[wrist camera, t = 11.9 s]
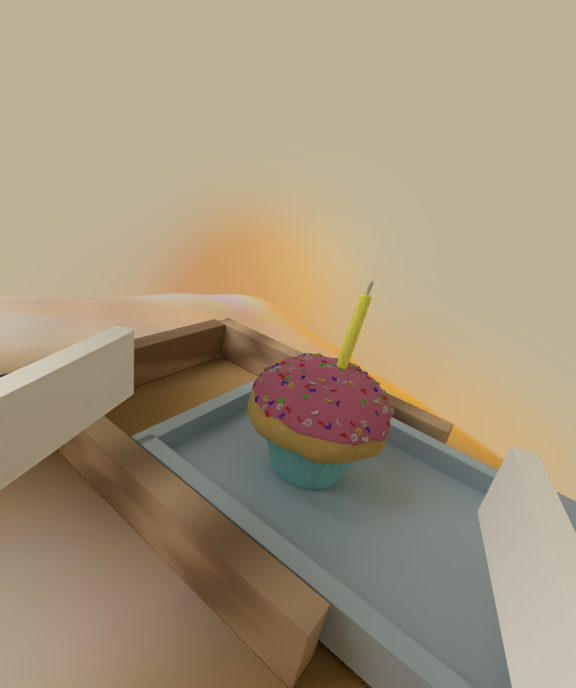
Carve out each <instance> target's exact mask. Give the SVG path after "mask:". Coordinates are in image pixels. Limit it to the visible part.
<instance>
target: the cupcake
mask: <svg viewBox="0 0 576 688" xmlns="http://www.w3.org/2000/svg"><path fill="white" fill-rule="evenodd" d="M372 285H373V281H370V283H369V285H368V288H367V290H366V292H365V294H360V297H359V300H358V302H357V306H356V308H355V311H354V314H353V317H352V320H351V323H350V326H349V329H348V332H347V335H346V338H345V341H344V344H343V347H342V350H341V353H340V355H339V358H334V359H333V358H329V357H324V356H321V354H317V353H316V354H307V353H305V354H306V355H305V354H303V355H301V354H298V356H296V357H291V358H288V359H284V360H282V361H280V362H277V363H276V364H274V365H273V366H271V367H266V368H267V369H266V368H265V369H264V372H263V373H260V374H259V377H258V378H257V379H256V380H255V381H254V383H253V386H252V391H251V393H250V397H249V401H248V405H247V411H248V415H249V416H250V419H251V422H252V425H253V427H254V429H255V430H256V432H257V433H258V434H260V435H261V436H262V437H263V438H265V439H266V440H267V444H268V450H269V456H270V462H271V465H272V467H273V469H274V470H275V472H276V473H277V474H278V475H279V476H280V477H281V478H282V479H284V480H285V481H287V482H288V483H290V484H292V485H295V486H297V487H301V488H305V489H324V488H328V487H330V486H332V485H334V484H336V483H337V482H338V481H339V480H340V479H341V477H342V476H343V474H344V473H345V472H346V471H347V469H348V468H349V467H350V466H351V465H352V464H353V463H354V462H355V461H359V460H363V459H367V458H371V457H375V456H377V455H379V454H380V453H381V452H382V450H383V448H384V446H385V443H386V440H387V437H388V434H389V428H390V420H391V418H392V416H393V413H394V409H393V408H391V406H390V404H389V402H388V400H389V399H388V398H387V397H386V391H385V390H382V389H381V388H380V386H379V385H380V383H378V382H376V381H375V380H374V379H373V378H372V377H370V376H369V375H368V373H367V372H365V371H362V369H361V368H360V367H359V366H357V365H356V364H352V363H349V361H350V358H351V355H352V352H353V349H354V346H355V343H356V341H357V338H358V335H359V332H360V329H361V327H362V323H363V321H364V318H365V315H366V312H367V309H368V307H369V304H370V301H371V297H370V296H369V295H368V294H369V292H370V290H371V287H372ZM299 355H301V356H299ZM366 373H367V374H366ZM384 392H385V393H384Z"/></svg>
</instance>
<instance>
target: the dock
mask: <svg viewBox="0 0 576 688" xmlns="http://www.w3.org/2000/svg"><path fill="white" fill-rule="evenodd" d="M298 354H301V355H303V353H301V352H299V351H297V350H295V349H293V348H291V347H289V346H286V345H284V344H282V343H280V342H278V341H276V340H274V339H272V338H270V337H267V336H265V335H263V334H261V333H259V332H257V331H255V330H253V329H250V328H248V327H246V326H244V325H242V324H240V323H238V322H236V321H234V320H231V319H229V318H228V319H224V320H220V321H217V320H215V319H214V320H210V321H206V322H202V323H198V324H194V325H190V326H185V327H181V328H177V329H173V330H169V331H165V332H161V333H157V334H153V335H149V336H145V337H141V338H137V339H134V387H136V386H139V385H142V384H145V383H147V382H150V381H153V380H156V379H159V378H161V377H164V376H167V375H170V374H173V373H176V372H178V371H181V370H184V369H187V368H190V367H193V366H195V365H198V364H201V363H204V362H207V361H210V360H212V359H215V358H218V357H221V356H222V357H224V358H226V359H227V360H229V361H231V362H233V363H235V364H237V365H238V366H240V367H242V368H244V369H246V370H248V371H249V372H251V373H253V374H255V375H257V376H259V374H260V373H263V372H264V369H265V368H266V367H271V366H273V365H274V364H276V363H277V362H280V361H282V360H284V359H288V358H291V357H296V356H298ZM301 355H299V356H301ZM266 369H267V368H266ZM384 393H385V392H384ZM386 397H387V398H388V399H389V400H388V402H389V404H390V406H391V408H393V409H394V413H393V416H392V418H394V419H396V420H398V421H400V422H402V423H404V424H406V425H408V426H410V427H412V428H414V429H416V430H418V431H420V432H422V433H424V434H426V435H428V436H430V437H432V438H434V439H436V440H438V441H440V442H442V443H444V444H446V442H447V439H448V437H449V435H450V432H451V430H452V427H453V424H451V423H449V422H447V421H445V420H443V419H441V418H439V417H437V416H434V415H432V414H430V413H428V412H426V411H424V410H422V409H420V408H418V407H415V406H413V405H411V404H409V403H407V402H405V401H403V400H401V399H399V398H396V397H394V396H392V395H390V394H388V393H386ZM57 450H58V451H59V452H60V453H61V454H62V456H63V457H64V458H65V459H66V460H67V461H68V462H69V463H70V464H71V465H72V466H73V467H74V468H75V469H76V470H77V471H78V472H79V473H80V474H81V475H82V476H83V477H84V478H85V479H86V480H87V481H88V482H89V483H90V484H91V485H92V486H93V487H94V488H95V489H96V490H97V491H98V492H99V493H100V494H101V495H102V497H103V498H104V499H105V500H106V501H107V502H108V503H109V504H110V505H111V506H112V507H113V508H114V509H115V510H116V511H117V512H118V513H119V514H120V515H121V516H122V517H123V518H124V519H125V520H126V521H127V522H128V523H129V524H130V525H131V526H132V527H133V528H134V529H135V530H136V531H137V532H138V533H139V534H140V535H141V536H142V537H143V539H144V540H145V541H146V542H147V543H148V544H149V545H150V546H151V547H152V548H153V549H154V550H155V551H156V552H157V553H158V554H159V555H160V556H161V557H162V558H163V559H164V560H165V561H166V562H167V563H168V564H169V565H170V566H171V567H172V568H173V569H174V570H175V571H176V572H177V573H178V574H179V575H180V576H181V577H182V578H183V580H184V581H185V582H186V583H187V584H188V585H189V586H190V587H191V588H192V589H193V590H194V591H195V592H196V593H197V594H198V595H199V596H200V597H201V598H202V599H203V600H204V601H205V602H206V603H207V604H208V605H209V606H210V607H211V608H212V609H213V610H214V611H215V612H216V613H217V614H218V615H219V616H220V617H221V618H222V619H223V620H224V622H225V623H226V624H227V625H228V626H229V627H230V628H231V629H232V630H233V631H234V632H235V633H236V634H237V635H238V636H239V637H240V638H241V639H242V640H243V641H244V642H245V643H246V644H247V645H248V646H249V647H250V648H251V649H252V650H253V651H254V652H255V653H256V654H257V655H258V656H259V657H260V658H261V659H262V660H263V661H264V662H265V664H266V665H267V666H268V667H269V668H270V669H271V670H272V671H273V672H274V673H275V674H276V675H277V676H278V677H279V678H280V679H281V680H282V681H283V682H284V683H285V684H286V685H287V686H288V687H289V688H293V687H294V685H295V684H296V682H297V681H298V679H299V678H300V676H301V675H302V673H303V671H304V670H305V668H306V667H307V665H308V664H309V662H310V661H311V659H312V657H313V655H314V652H315V649H316V646H317V643H318V640H319V637H320V634H321V631H322V628H323V625H324V622H325V619H326V616H327V613H328V610H329V607H330V604H329V603H328V602H327V601H326V600H325V599H323V598H322V597H321V596H320V595H319V594H317V593H316V592H315V591H314V590H313V589H311V588H310V587H309V586H308V585H307V584H305V583H304V582H303V581H302V580H301V579H299V578H298V577H297V576H296V575H295V574H293V573H292V572H291V571H290V570H289V569H287V568H286V567H285V566H284V565H283V564H281V563H280V562H279V561H278V560H277V559H275V558H274V557H273V556H272V555H271V554H269V553H268V552H267V551H266V550H265V549H263V548H262V547H261V546H260V545H259V544H257V543H256V542H255V541H254V540H253V539H251V538H250V537H249V536H248V535H247V534H245V533H244V532H243V531H242V530H241V529H239V528H238V527H237V526H236V525H235V524H233V523H232V522H231V521H230V520H229V519H227V518H226V517H225V516H224V515H223V514H221V513H220V512H219V511H218V510H217V509H215V508H214V507H213V506H212V505H211V504H209V503H208V502H207V501H206V500H205V499H203V498H202V497H201V496H200V495H199V494H197V493H196V492H195V491H194V490H193V489H191V488H190V487H189V486H188V485H187V484H185V483H184V482H183V481H182V480H181V479H179V478H178V477H177V476H176V475H175V474H173V473H172V472H171V471H170V470H169V469H168V468H166V467H165V466H164V465H163V464H162V463H160V462H159V461H158V460H157V459H156V458H154V457H153V456H152V455H151V454H150V453H148V452H147V451H146V450H145V449H144V448H142V447H141V446H140V445H139V444H138V443H136V442H135V441H134V440H133V439H132V438H130V437H129V436H128V435H127V434H126V433H124V432H123V431H122V430H121V429H120V428H118V427H117V426H116V425H115V424H114V423H112V422H111V421H110V420H109V419H108V418H106V417H105V416H102V417H101V418H100V419H98V420H97V421H96V422H94V423H93V424H91V425H90V426H89V427H87V428H86V429H84V430H83V431H82V432H80V433H79V434H78V435H76V436H75V437H73V438H72V439H71V440H69V441H68V442H67V443H65V444H64V445H62V446H61V447H60V448H58V449H57Z"/></svg>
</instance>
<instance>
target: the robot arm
mask: <svg viewBox="0 0 576 688" xmlns="http://www.w3.org/2000/svg"><path fill="white" fill-rule="evenodd" d="M133 394H134V330H130V329H127V328H124V327H120V326H117V325H116V326H114V327H111V328H109V329H107V330H105V331H103V332H100V333H98V334H96V335H94V336H91V337H89V338H87V339H85V340H83V341H80V342H78V343H76V344H74V345H72V346H69V347H67V348H65V349H63V350H60V351H58V352H56V353H54V354H52V355H49V356H47V357H45V358H43V359H41V360H38V361H36V362H34V363H32V364H29V365H27V366H25V367H23V368H21V369H18V370H16V371H14V372H11V373H7V374H3V375H0V490H2V489H3V488H4V487H6V486H7V485H8V484H10V483H11V482H13V481H14V480H15V479H17V478H18V477H20V476H21V475H22V474H24V473H25V472H26V471H28V470H29V469H31V468H32V467H33V466H35V465H36V464H37V463H39V462H40V461H42V460H43V459H44V458H46V457H47V456H49V455H50V454H51V453H53V452H54V451H55V450H57V449H58V448H60V447H61V446H62V445H64V444H65V443H67V442H68V441H69V440H71V439H72V438H73V437H75V436H76V435H78V434H79V433H80V432H82V431H83V430H84V429H86V428H87V427H89V426H90V425H91V424H93V423H94V422H96V421H97V420H98V419H100V418H101V417H102V416H104V415H105V414H107V413H108V412H109V411H111V410H112V409H113V408H115V407H116V406H118V405H119V404H120V403H122V402H123V401H125V400H126V399H127V398H129V397H130V396H131V395H133ZM477 512H478V517H479V522H480V528H481V533H482V538H483V543H484V548H485V553H486V558H487V563H488V568H489V573H490V579H491V584H492V589H493V594H494V599H495V604H496V609H497V614H498V619H499V624H500V629H501V635H502V640H503V645H504V650H505V655H506V660H507V665H508V670H509V675H510V680H511V685H512V688H576V532H575V530H574V528H573V526H572V524H571V522H570V520H569V517H568V515H567V513H566V511H565V509H564V507H563V505H562V503H561V501H560V498H559V496H558V494H557V492H556V490H555V488H554V486H553V484H552V482H551V479H550V477H549V475H548V473H547V471H546V469H545V467H544V465H543V462H542V460H541V458H540V456H539V454H538V453H534V452H531V451H528V450H524V449H521V448H518V447H515V446H511V447H510V449H509V451H508V453H507V455H506V457H505V459H504V461H503V462H502V464H501V466H500V468H499V470H498V472H497V474H496V476H495V478H494V480H493V482H492V484H491V486H490V488H489V490H488V492H487V494H486V496H485V498H484V500H483V502H482V504H481V506H480V507H479V509H478V511H477Z"/></svg>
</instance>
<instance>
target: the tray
mask: <svg viewBox="0 0 576 688" xmlns="http://www.w3.org/2000/svg"><path fill="white" fill-rule="evenodd" d="M255 380H256V379H255ZM255 380H253V381H250V382H248V383H246V384H244V385H242V386H239V387H237V388H235V389H233V390H231V391H229V392H226V393H224V394H222V395H220V396H218V397H215V398H213V399H211V400H209V401H207V402H205V403H202V404H200V405H198V406H196V407H194V408H191V409H189V410H187V411H185V412H183V413H180V414H178V415H176V416H174V417H172V418H170V419H167V420H165V421H163V422H161V423H159V424H156V425H154V426H152V427H150V428H148V429H146V430H143V431H141V432H139V433H137V434H135V435H132V436H131V438H132V439H133V440H134V441H135V442H136V443H138V444H139V445H140V446H141V447H142V448H144V449H145V450H146V451H147V452H148V453H150V454H151V455H152V456H153V457H154V458H156V459H157V460H158V461H159V462H160V463H162V464H163V465H164V466H165V467H166V468H168V469H169V470H170V471H171V472H172V473H173V474H175V475H176V476H177V477H178V478H179V479H181V480H182V481H183V482H184V483H185V484H187V485H188V486H189V487H190V488H191V489H193V490H194V491H195V492H196V493H197V494H199V495H200V496H201V497H202V498H203V499H205V500H206V501H207V502H208V503H209V504H211V505H212V506H213V507H214V508H215V509H217V510H218V511H219V512H220V513H221V514H223V515H224V516H225V517H226V518H227V519H229V520H230V521H231V522H232V523H233V524H235V525H236V526H237V527H238V528H239V529H241V530H242V531H243V532H244V533H245V534H247V535H248V536H249V537H250V538H251V539H253V540H254V541H255V542H256V543H257V544H259V545H260V546H261V547H262V548H263V549H265V550H266V551H267V552H268V553H269V554H271V555H272V556H273V557H274V558H275V559H277V560H278V561H279V562H280V563H281V564H283V565H284V566H285V567H286V568H287V569H289V570H290V571H291V572H292V573H293V574H295V575H296V576H297V577H298V578H299V579H301V580H302V581H303V582H304V583H305V584H307V585H308V586H309V587H310V588H311V589H313V590H314V591H315V592H316V593H317V594H319V595H320V596H321V597H322V598H323V599H325V600H326V601H327V602H328V603H329V604H330V607H329V610H328V613H327V616H326V619H325V622H324V625H323V628H322V631H321V634H320V637H319V640H320V641H321V642H322V643H323V644H324V645H325V646H326V647H327V648H328V649H329V650H331V651H332V652H333V653H334V654H335V655H336V656H337V657H338V658H339V659H341V660H342V661H343V662H344V663H345V664H346V665H347V666H348V667H349V668H351V669H352V670H353V671H354V672H355V673H356V674H357V675H358V676H359V677H360V678H362V679H363V680H364V681H365V682H366V683H367V684H368V685H369V686H370V687H372V688H512V685H511V680H510V675H509V670H508V665H507V660H506V655H505V650H504V645H503V640H502V635H501V629H500V624H499V619H498V614H497V609H496V604H495V599H494V594H493V589H492V584H491V579H490V573H489V568H488V563H487V558H486V553H485V548H484V543H483V538H482V533H481V528H480V522H479V517H478V512H477V511H478V509H479V507H480V506H481V504H482V502H483V500H484V498H485V496H486V494H487V492H488V490H489V488H490V486H491V484H492V482H493V480H494V478H495V476H496V474H497V472H498V470H496V469H494V468H492V467H490V466H488V465H486V464H484V463H482V462H480V461H478V460H476V459H474V458H472V457H470V456H468V455H466V454H464V453H462V452H460V451H458V450H456V449H454V448H452V447H450V446H448V445H446V444H444V443H442V442H440V441H438V440H436V439H434V438H432V437H430V436H428V435H426V434H424V433H422V432H420V431H418V430H416V429H414V428H412V427H410V426H408V425H406V424H404V423H402V422H400V421H398V420H396V419H394V418H391V420H390V428H389V434H388V437H387V440H386V443H385V446H384V448H383V450H382V452H381V453H380V454H379V455H377V456H375V457H371V458H367V459H363V460H359V461H355V462H354V463H353V464H352V465H351V466H350V467H349V468H348V469H347V471H346V472H345V473H344V474H343V476H342V477H341V479H340V480H339V481H338V482H337V483H336V484H334V485H332V486H330V487H328V488H324V489H305V488H301V487H297V486H295V485H292V484H290V483H288V482H287V481H285V480H284V479H282V478H281V477H280V476H279V475H278V474H277V473H276V472H275V470H274V469H273V467H272V465H271V462H270V456H269V450H268V444H267V440H266V439H265V438H263V437H262V436H261V435H260V434H258V433H257V432H256V430H255V429H254V427H253V425H252V422H251V419H250V416H249V415H248V411H247V405H248V401H249V397H250V393H251V391H252V386H253V383H254V381H255ZM557 494H558V496H559V498H560V501H561V503H562V505H563V507H564V509H565V511H566V513H567V515H568V517H569V520H570V522H571V524H572V526H573V528H574V530H575V532H576V501H574V500H572V499H569V498H567V497H565V496H563V495H561V494H559V493H557Z"/></svg>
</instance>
